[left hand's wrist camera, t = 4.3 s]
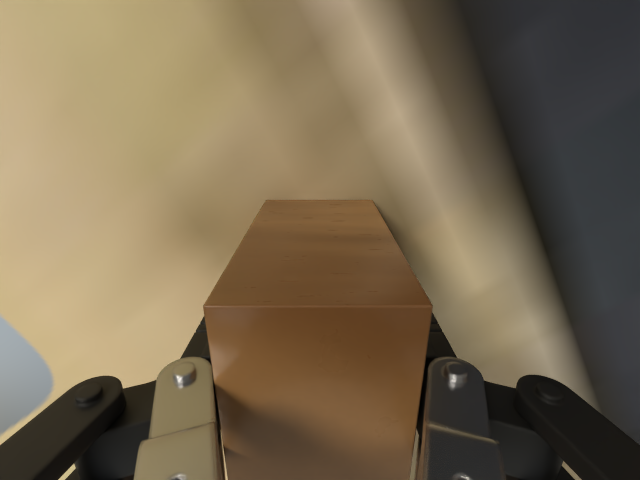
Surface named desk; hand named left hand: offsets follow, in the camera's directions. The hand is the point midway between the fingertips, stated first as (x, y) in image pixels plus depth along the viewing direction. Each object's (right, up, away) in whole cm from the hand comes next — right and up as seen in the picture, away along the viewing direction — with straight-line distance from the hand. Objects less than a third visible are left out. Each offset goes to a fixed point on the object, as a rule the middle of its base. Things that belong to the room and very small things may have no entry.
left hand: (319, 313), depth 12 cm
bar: (0, -7, +7) cm, 10 cm away
